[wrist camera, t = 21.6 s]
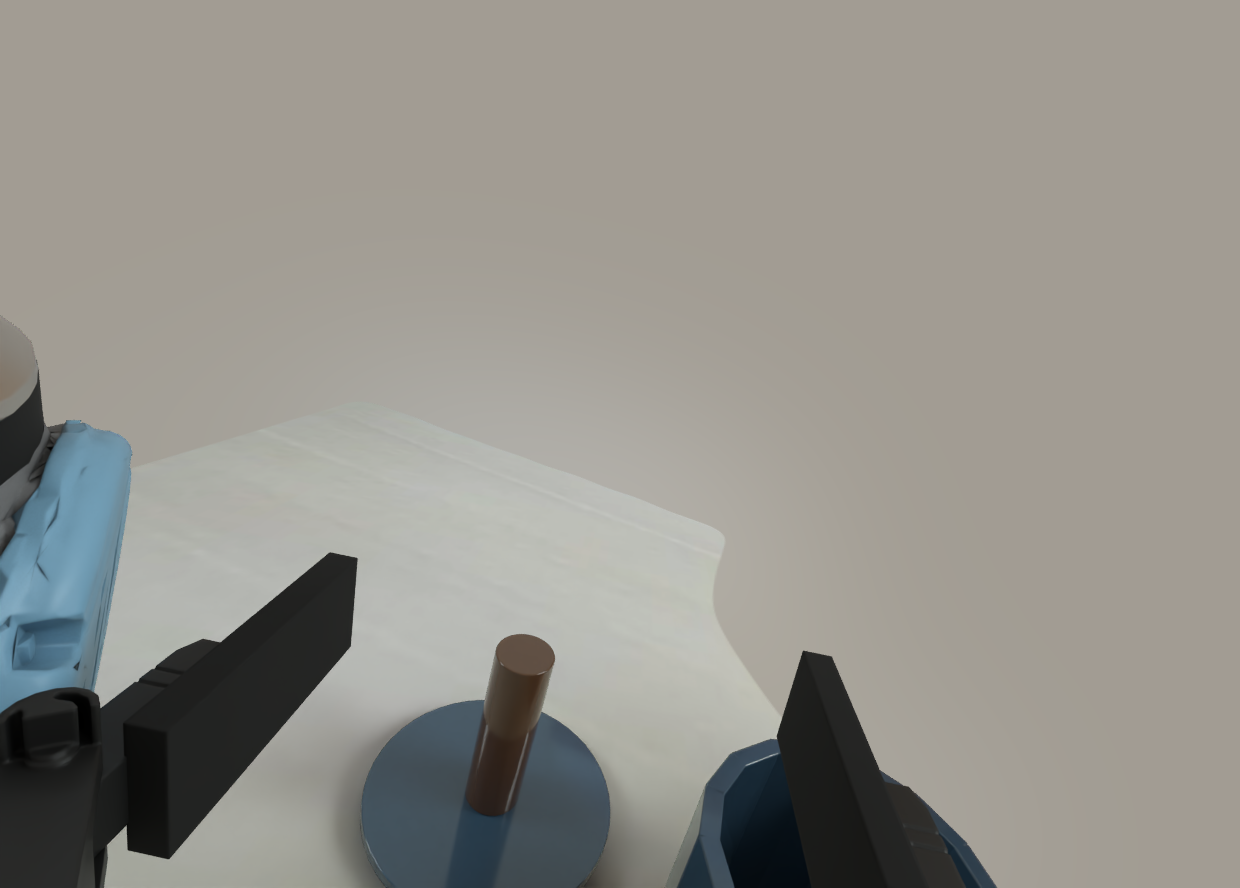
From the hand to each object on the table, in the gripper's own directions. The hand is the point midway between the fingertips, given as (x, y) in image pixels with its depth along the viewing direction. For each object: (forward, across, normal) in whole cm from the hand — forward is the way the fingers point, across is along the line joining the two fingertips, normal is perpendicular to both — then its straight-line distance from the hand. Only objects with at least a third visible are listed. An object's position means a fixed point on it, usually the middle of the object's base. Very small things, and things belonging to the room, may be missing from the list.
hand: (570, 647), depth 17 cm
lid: (+12, -3, -18) cm, 21 cm away
